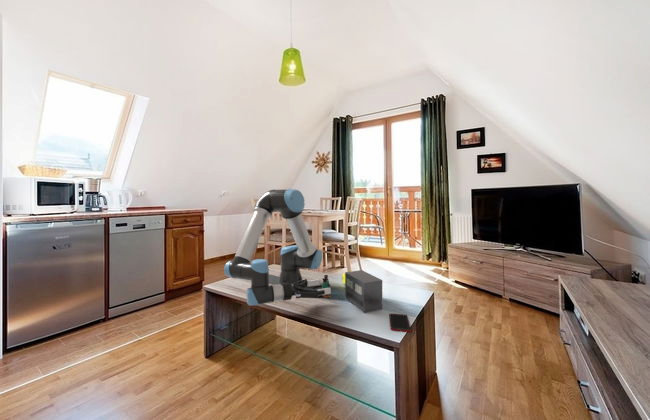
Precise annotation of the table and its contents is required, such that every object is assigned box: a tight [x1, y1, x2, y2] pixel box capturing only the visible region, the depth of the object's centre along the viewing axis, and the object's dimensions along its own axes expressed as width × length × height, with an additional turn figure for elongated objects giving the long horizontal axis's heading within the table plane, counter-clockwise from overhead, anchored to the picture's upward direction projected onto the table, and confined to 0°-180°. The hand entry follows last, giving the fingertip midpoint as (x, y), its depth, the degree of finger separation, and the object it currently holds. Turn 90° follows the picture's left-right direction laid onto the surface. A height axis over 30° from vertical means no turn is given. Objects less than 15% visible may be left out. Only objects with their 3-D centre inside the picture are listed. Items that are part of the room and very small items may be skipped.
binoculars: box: [312, 274, 331, 299], centre depth 142 cm, size 9×11×10 cm
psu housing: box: [344, 269, 383, 314], centre depth 130 cm, size 19×10×14 cm, turn 23°
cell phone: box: [389, 313, 412, 333], centre depth 110 cm, size 8×15×1 cm, turn 169°
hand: (324, 286), depth 127 cm, fingers open, 13 cm apart
